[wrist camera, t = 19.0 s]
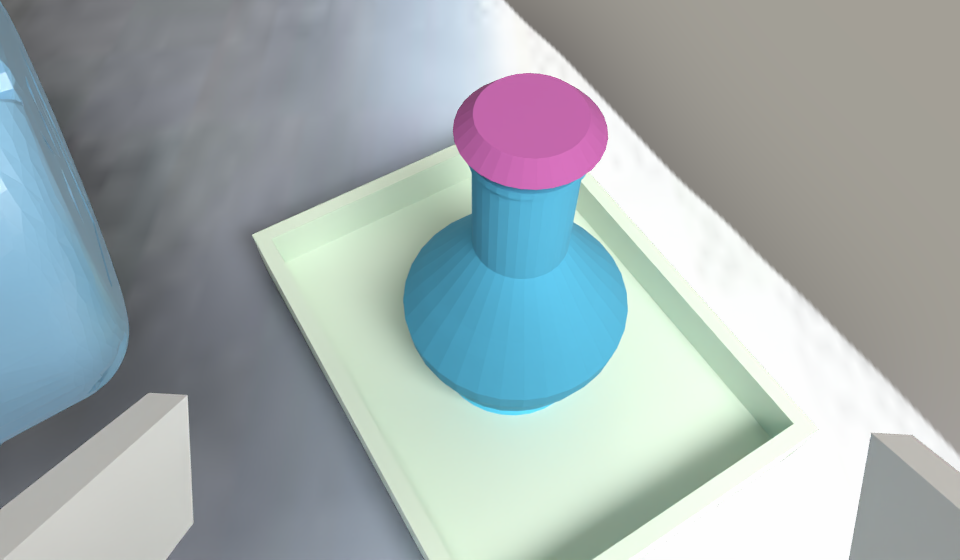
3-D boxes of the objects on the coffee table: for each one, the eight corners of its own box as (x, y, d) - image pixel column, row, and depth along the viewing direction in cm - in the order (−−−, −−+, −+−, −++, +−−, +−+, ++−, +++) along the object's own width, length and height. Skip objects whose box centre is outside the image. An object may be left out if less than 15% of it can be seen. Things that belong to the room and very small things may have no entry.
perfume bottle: (395, 286, 36) (351, 35, 23) (574, 249, 37) (626, -7, 24) (434, 465, 31) (405, 274, 18) (638, 417, 32) (744, 205, 20)
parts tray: (266, 269, 37) (251, 234, 35) (529, 148, 42) (532, 109, 39) (482, 666, 28) (483, 658, 25) (791, 453, 32) (818, 429, 30)
